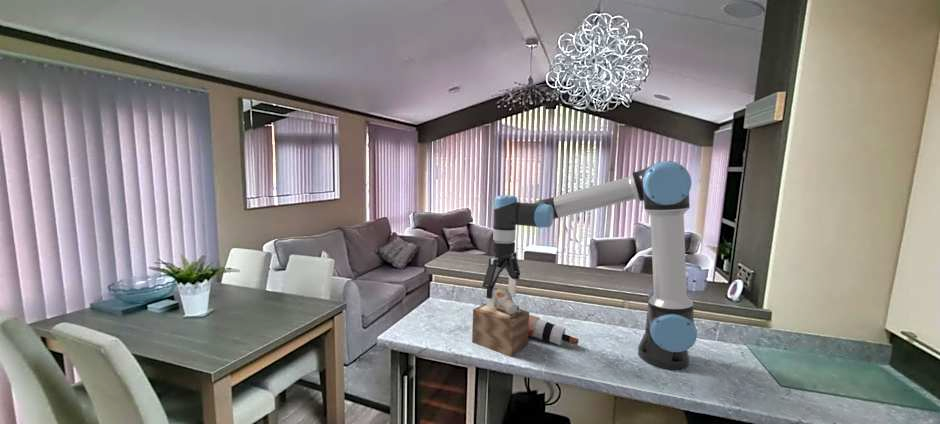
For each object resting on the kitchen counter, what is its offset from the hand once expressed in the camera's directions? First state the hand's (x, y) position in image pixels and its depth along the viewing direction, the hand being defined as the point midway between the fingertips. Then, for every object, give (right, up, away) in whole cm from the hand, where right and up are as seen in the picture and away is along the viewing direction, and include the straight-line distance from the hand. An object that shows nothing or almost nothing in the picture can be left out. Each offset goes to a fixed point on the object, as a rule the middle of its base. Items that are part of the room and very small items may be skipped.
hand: (501, 301), depth 134 cm
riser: (0, -15, +2) cm, 15 cm away
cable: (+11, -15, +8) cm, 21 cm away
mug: (+1, -3, -1) cm, 4 cm away
